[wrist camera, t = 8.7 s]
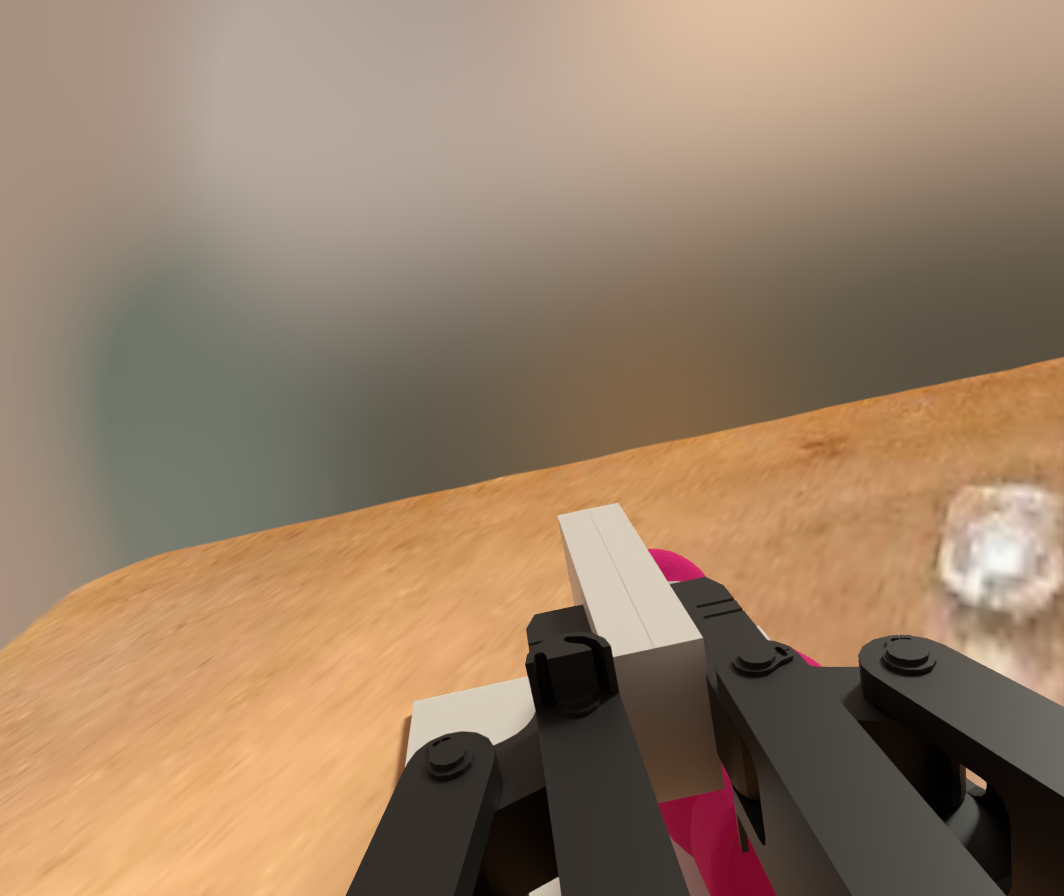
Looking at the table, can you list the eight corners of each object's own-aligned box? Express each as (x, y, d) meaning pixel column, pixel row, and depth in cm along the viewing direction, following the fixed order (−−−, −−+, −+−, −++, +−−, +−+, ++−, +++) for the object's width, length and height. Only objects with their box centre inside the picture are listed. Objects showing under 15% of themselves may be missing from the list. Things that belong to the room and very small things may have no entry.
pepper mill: (994, 905, 19) (716, 607, 38) (912, 685, 17) (666, 492, 37) (753, 1029, 19) (597, 665, 38) (648, 818, 17) (542, 552, 37)
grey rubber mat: (976, 902, 21) (976, 886, 21) (374, 1045, 20) (369, 1030, 20) (760, 635, 36) (758, 625, 36) (416, 711, 36) (413, 701, 35)
